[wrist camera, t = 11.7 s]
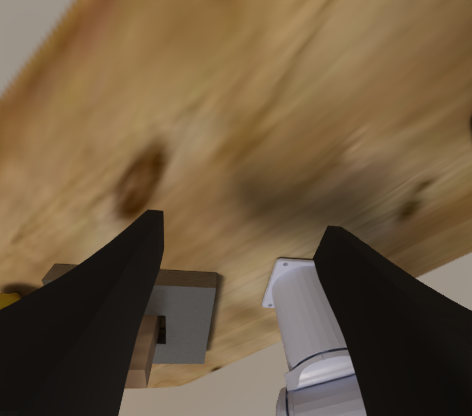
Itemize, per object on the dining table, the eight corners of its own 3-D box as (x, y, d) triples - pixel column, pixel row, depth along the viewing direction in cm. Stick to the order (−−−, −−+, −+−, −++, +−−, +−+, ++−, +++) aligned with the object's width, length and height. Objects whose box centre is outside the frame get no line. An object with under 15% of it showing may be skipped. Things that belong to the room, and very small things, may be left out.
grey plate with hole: (216, 272, 25) (216, 288, 23) (204, 348, 33) (203, 363, 32) (54, 263, 23) (41, 280, 21) (86, 347, 31) (78, 363, 30)
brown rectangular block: (160, 302, 27) (144, 369, 21) (161, 322, 29) (146, 388, 23) (124, 301, 27) (98, 369, 21) (128, 321, 29) (105, 388, 23)
